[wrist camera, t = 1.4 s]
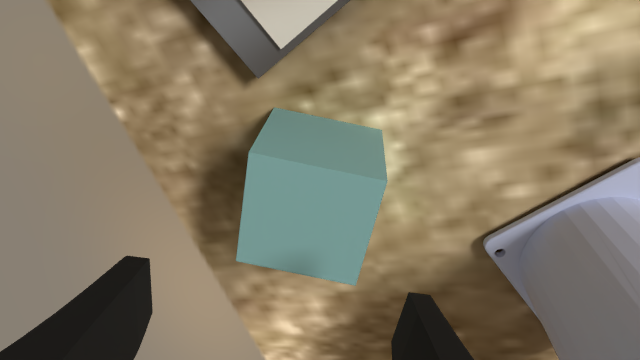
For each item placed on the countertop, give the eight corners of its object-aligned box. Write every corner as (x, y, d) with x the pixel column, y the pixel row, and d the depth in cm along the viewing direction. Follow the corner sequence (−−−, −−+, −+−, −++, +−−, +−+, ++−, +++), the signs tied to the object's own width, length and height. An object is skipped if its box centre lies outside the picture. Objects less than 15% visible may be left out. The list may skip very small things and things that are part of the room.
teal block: (381, 129, 19) (387, 181, 15) (356, 218, 22) (355, 285, 17) (274, 106, 19) (248, 152, 15) (261, 198, 22) (235, 261, 17)
